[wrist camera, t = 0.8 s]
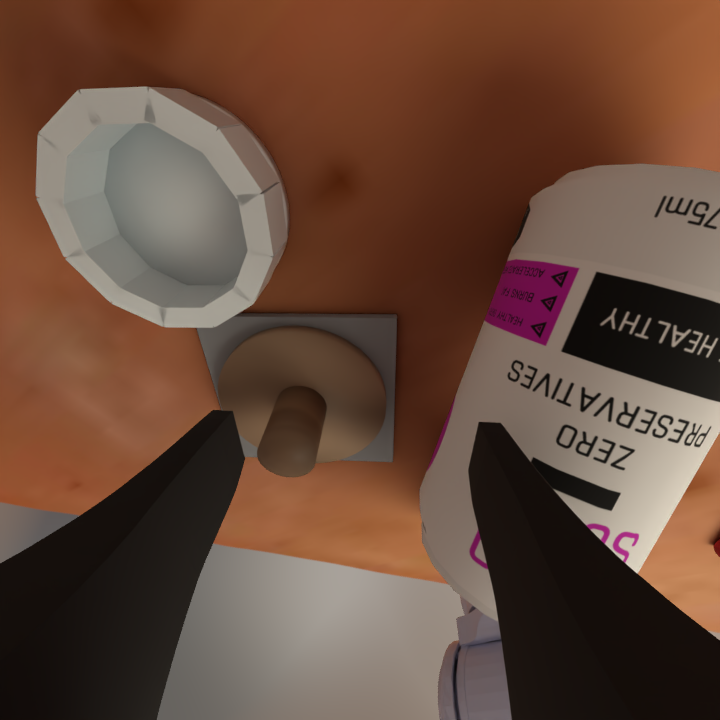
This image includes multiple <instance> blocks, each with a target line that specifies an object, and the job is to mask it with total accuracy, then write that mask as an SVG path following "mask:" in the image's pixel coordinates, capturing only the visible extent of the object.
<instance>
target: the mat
mask: <svg viewBox="0 0 720 720" xmlns="http://www.w3.org/2000/svg"><path fill="white" fill-rule="evenodd" d="M292 325H295V326H308V327H313V328H318V329H322V330H325V331H328V332H331V333H333V334H336V335H338V336H340V337H342V338H344V339H346V340H348V341H349V342H351V343H352V344H354V345H355V346H357V347H358V348H359V349H361V350H362V351H363V352H364V353H365V354H366V355H367V356H368V357H369V358H370V360H371V361H372V362H373V363H374V365H375V366H376V368H377V369H378V371H379V373H380V375H381V377H382V380H383V382H384V386H385V390H386V415H385V419H384V423H383V426H382V428H381V430H380V432H379V433H378V435H377V436H376V438H375V439H374V440H373V441H372V442H371V443H370V444H369V445H368V446H366V447H365V448H364V449H363V450H361V451H359V452H358V453H356V454H354V455H352V456H349V457H347V458H344V459H341V460H348V461H376V462H393V442H394V406H395V371H396V335H397V314H268V313H238V314H236V315H235V316H233V317H231V318H230V319H228V320H226V321H225V322H223V323H221V324H220V325H218V326H216V327H213V328H197V332H198V335H199V338H200V341H201V345H202V348H203V351H204V355H205V358H206V361H207V364H208V368H209V371H210V374H211V377H212V381H213V384H214V387H215V391H216V394H217V397H218V381H219V376H220V373H221V370H222V368H223V366H224V364H225V362H226V361H227V359H228V358H229V356H230V355H231V353H232V352H233V351H234V349H235V348H236V347H237V346H238V345H239V344H240V343H241V342H242V341H244V340H245V339H247V338H248V337H250V336H251V335H254V334H256V333H258V332H260V331H263V330H266V329H269V328H274V327H279V326H292ZM218 400H219V397H218ZM219 404H220V401H219ZM220 407H221V405H220ZM221 410H222V408H221ZM222 411H223V410H222ZM239 437H240V441H241V445H242V449H243V453H244V457H257V449H258V448H257V447H255V446H254V445H252V444H251V443H249V442H248V441H247V440H245V439H244V438H243V437H242V436H241V435H240V434H239Z"/></svg>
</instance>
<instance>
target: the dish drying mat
mask: <svg viewBox="0 0 720 720" xmlns="http://www.w3.org/2000/svg"><path fill="white" fill-rule="evenodd" d="M714 550H715V552H716V554H717V555H718V556H719V557H720V539H719V540H718V541H717V542H716V543H715V545H714Z"/></svg>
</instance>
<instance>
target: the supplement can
mask: <svg viewBox="0 0 720 720" xmlns="http://www.w3.org/2000/svg"><path fill="white" fill-rule="evenodd" d="M479 422H496V423H501V424H502V425H503V426H504V427H505V429H506V430H507V431H508V433H509V434H510V435H511V437H512V438H513V439H514V441H515V442H516V443H517V445H518V446H519V447H520V449H521V450H522V451H523V453H524V454H525V455H526V456H527V458H528V459H529V460H530V462H531V463H532V464H533V465H534V467H535V468H536V469H537V470H538V472H539V473H540V474H541V475H542V476H543V478H544V479H545V480H546V481H547V482H548V484H549V485H550V486H551V487H552V488H553V490H554V491H555V492H556V493H557V494H558V495H559V496H560V498H561V499H562V500H563V501H564V502H565V503H566V504H567V505H568V506H569V508H570V509H571V510H572V511H573V512H574V513H575V514H576V515H577V516H578V517H579V518H580V519H581V521H582V522H583V523H584V524H585V525H586V526H587V527H588V528H589V529H590V530H591V531H592V532H593V533H594V534H595V535H596V536H597V537H598V538H599V539H600V540H601V541H602V542H603V543H604V544H605V545H606V546H608V547H609V548H610V549H611V550H612V551H613V552H614V553H615V554H616V555H617V556H618V557H619V558H620V559H621V560H622V561H624V562H625V563H626V564H627V565H628V566H629V567H630V568H631V569H632V570H634V571H635V572H636V573H637V574H638V572H639V570H640V569H641V567H642V565H643V563H644V562H645V560H646V558H647V556H648V555H649V553H650V551H651V550H652V548H653V546H654V544H655V543H656V541H657V539H658V538H659V536H660V534H661V532H662V531H663V529H664V527H665V525H666V524H667V522H668V520H669V519H670V517H671V515H672V513H673V512H674V510H675V508H676V506H677V505H678V503H679V501H680V500H681V498H682V496H683V494H684V493H685V491H686V489H687V487H688V486H689V484H690V482H691V481H692V479H693V477H694V475H695V474H696V472H697V470H698V469H699V467H700V465H701V463H702V462H703V460H704V458H705V456H706V455H707V453H708V451H709V450H710V448H711V446H712V444H713V443H714V441H715V439H716V437H717V436H718V434H719V432H720V172H715V171H710V170H705V169H699V168H691V167H678V166H666V165H653V164H623V165H601V166H594V167H589V168H585V169H581V170H576V171H572V172H568V173H567V174H566V175H564V176H563V177H561V178H560V179H558V180H557V181H556V182H555V184H554V185H551V186H549V187H547V188H544V189H543V190H541V191H540V192H538V193H537V194H536V195H534V196H533V197H531V200H530V202H529V205H528V207H527V210H526V213H525V215H524V218H523V220H522V223H521V226H520V228H519V231H518V234H517V236H516V239H515V241H514V244H513V247H512V249H511V252H510V254H509V257H508V260H507V262H506V265H505V268H504V270H503V273H502V275H501V278H500V281H499V283H498V286H497V288H496V291H495V294H494V296H493V299H492V302H491V304H490V307H489V309H488V312H487V315H486V317H485V320H484V322H483V325H482V328H481V330H480V333H479V336H478V338H477V341H476V343H475V346H474V349H473V351H472V354H471V356H470V359H469V362H468V364H467V367H466V369H465V372H464V375H463V377H462V380H461V383H460V385H459V388H458V390H457V393H456V396H455V398H454V401H453V403H452V406H451V409H450V411H449V414H448V417H447V419H446V422H445V424H444V427H443V430H442V432H441V435H440V437H439V440H438V443H437V445H436V448H435V451H434V453H433V456H432V458H431V461H430V464H429V466H428V469H427V471H426V474H425V477H424V479H423V482H422V485H421V487H420V512H421V518H422V543H423V545H424V547H425V549H426V551H427V553H428V556H429V558H430V560H431V562H432V564H433V566H434V567H435V568H436V569H437V571H438V572H439V573H440V574H441V575H442V577H443V578H444V579H445V580H446V581H447V583H448V584H449V585H450V586H451V587H452V588H453V590H454V591H455V592H457V593H458V594H459V595H460V596H462V597H463V598H464V599H465V600H467V601H468V602H469V603H470V604H472V605H473V606H474V607H476V608H477V609H478V610H479V611H481V612H482V613H483V614H484V615H486V616H488V617H490V618H492V619H494V620H496V621H498V616H497V609H496V603H495V597H494V593H493V588H492V583H491V579H490V575H489V571H488V567H487V563H486V559H485V555H484V550H483V546H482V542H481V538H480V534H479V530H478V526H477V522H476V518H475V514H474V509H473V505H472V499H471V491H470V483H469V474H468V468H469V463H470V459H471V454H472V450H473V445H474V441H475V436H476V432H477V427H478V423H479Z"/></svg>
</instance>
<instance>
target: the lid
mask: <svg viewBox="0 0 720 720" xmlns="http://www.w3.org/2000/svg"><path fill="white" fill-rule="evenodd" d="M218 397H219V401H220V405H221V408H222V410H223V411H233V413H234V417H235V421H236V425H237V429H238V433H239V434H240V435H241V436H242V437H243V438H244V439H245V440H247V441H248V442H249V443H251V444H252V445H254V446H255V447H257V448H258V449H257V457H258V460H259V461H260V463H261V464H262V465H263V466H264V467H265V468H266V469H267V470H269V471H270V472H272V473H274V474H277V475H280V476H284V477H299V476H303V475H305V474H307V473H309V472H310V471H311V470H312V469H313V468H314V466H315V463H326V462H332V461H337V460H341V459H344V458H347V457H349V456H352V455H354V454H356V453H358V452H359V451H361V450H363V449H364V448H365V447H366V446H368V445H369V444H370V443H371V442H372V441H373V440H374V439H375V438H376V436H377V435H378V433H379V432H380V430H381V428H382V426H383V423H384V419H385V415H386V390H385V386H384V382H383V380H382V377H381V375H380V373H379V371H378V369H377V368H376V366H375V365H374V363H373V362H372V361H371V360H370V358H369V357H368V356H367V355H366V354H365V353H364V352H363V351H362V350H361V349H359V348H358V347H357V346H355V345H354V344H352V343H351V342H349V341H348V340H346V339H344V338H342V337H340V336H338V335H336V334H333V333H331V332H328V331H325V330H322V329H318V328H313V327H308V326H295V325H292V326H279V327H274V328H269V329H266V330H263V331H260V332H258V333H256V334H254V335H251V336H250V337H248V338H247V339H245V340H244V341H242V342H241V343H240V344H239V345H238V346H237V347H236V348H235V349H234V351H233V352H232V353H231V355H230V356H229V358H228V359H227V361H226V362H225V364H224V366H223V368H222V370H221V373H220V376H219V381H218Z"/></svg>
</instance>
